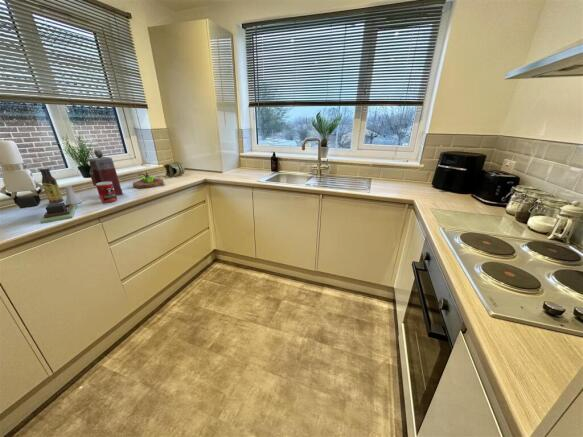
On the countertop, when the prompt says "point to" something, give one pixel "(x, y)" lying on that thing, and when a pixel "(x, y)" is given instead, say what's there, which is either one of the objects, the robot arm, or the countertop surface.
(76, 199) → the flask
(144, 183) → the plant
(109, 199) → the canned food
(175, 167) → the piston
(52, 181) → the sauce bottle
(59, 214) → the joiner board
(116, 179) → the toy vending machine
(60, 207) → the black square block
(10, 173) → the robot arm
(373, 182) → the countertop surface
